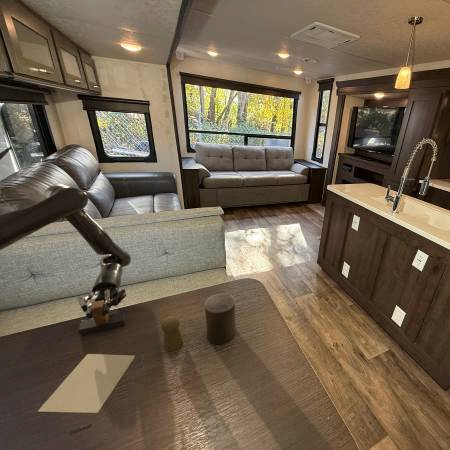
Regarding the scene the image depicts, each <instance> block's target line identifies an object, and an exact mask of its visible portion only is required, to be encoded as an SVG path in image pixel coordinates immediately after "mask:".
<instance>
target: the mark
mask: <svg viewBox="0 0 450 450" xmlns="http://www.w3.org/2000/svg"><path fill="white" fill-rule="evenodd" d="M92 424H93V423H89V424H85V425H83V426H80V427H78V428H75V429H74V428H73V429H71V430H70V431H69V433H68V435H73V434H75V433H77V432H80V431H83V430H86V429H89V428H91V427H92Z"/></svg>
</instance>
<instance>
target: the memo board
mask: <svg viewBox="0 0 450 450" xmlns="http://www.w3.org/2000/svg"><path fill="white" fill-rule="evenodd" d="M135 357H136V355H127V354H101V353H86V355H85V356H84V357H83V359H82V360H80V362H79V363H78V364H77V365H76V366H75V367H74V369H73V370H72V371H71V372H70V373H69V375H67V376H66V378H65V379H64V380H63V381H62V382H61V384H60V385H59V386H58V387H57V388H56V389H55V390H54V391H53V393H52V394H51V395H50V396H49V397H48V398H47V400H45V402H44V403H43V404H42V405H41V406H40V407H39V409H38V410H37V412H38V413H74V414H75V413H78V414H98V413H99V412H100V411H101V409H102V407H103V406H104V404H105V402H106V401H107V400H108V398H109V397H110V395H111V394H112V392H113V391H114V389H115V388H116V387H117V385H118V383H119V382H120V380H121V378H122V377H123V376H124V374H125V373H126V371H127V370H128V368H129V366H130V365H131V364H132V362H133V360H134V359H135Z"/></svg>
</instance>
